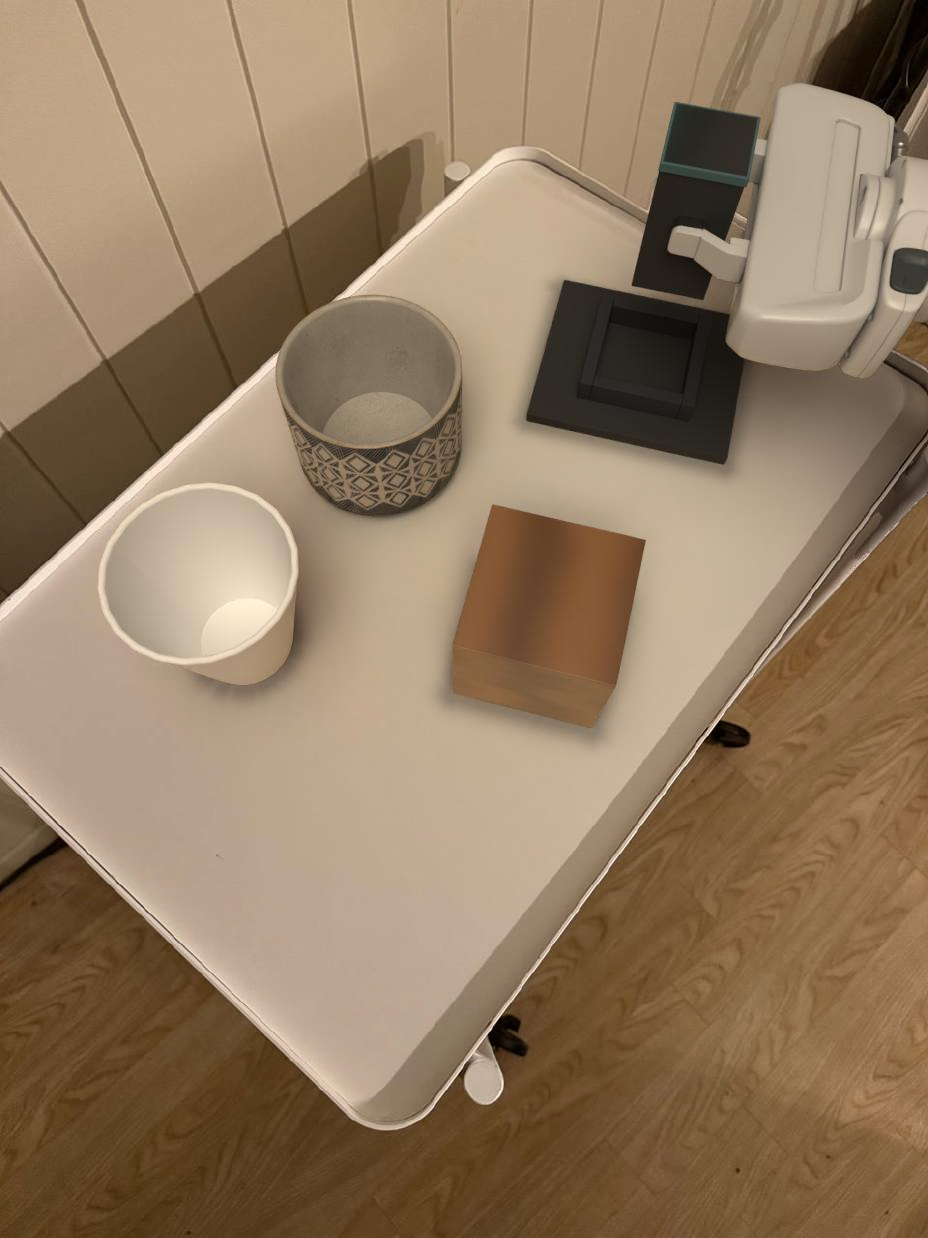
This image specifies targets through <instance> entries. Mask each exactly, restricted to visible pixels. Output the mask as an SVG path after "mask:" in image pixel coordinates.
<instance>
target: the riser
mask: <svg viewBox="0 0 928 1238" xmlns="http://www.w3.org/2000/svg"><path fill="white" fill-rule="evenodd" d="M646 542H647V540H646V539H645V538H639V537H635V536H630V535H627V534H624V533H623V534H622V533H618V532H614V531H610V530H605V529H601V528H598V527H597V528H596V527H592V526H588V525H584V524H579V523H575V522H571V521H566V520H562V519H558V518H554V517H550V516H545V515H541V514H536V513H532V512H529V511H524V510H519V509H515V508H511V507H508V506H507V507H506V506H502V505H498V504H493V503H492V504H491V507H490V510H489V515H488V517H487V521H486V525H485V529H484V532H483V536H482V539H481V543H480V546H479V549H478V554H477V558H476V560H475V564H474V568H473V571H472V575H471V578H470V582H469V584H468V590H467V592H466V596H465V600H464V603H463V606H462V610H461V614H460V617H459V621H458V624H457V628H456V632H455V635H454V639H453V641H452V642H453V643H452V688H453V689H452V693H453V694H454V695H458V696H463V697H467V698H470V699H474V700H479V701H482V702H485V703H490V704H494V705H498V706H502V707H506V708H510V709H513V710H518V711H522V712H525V713H529V714H534V715H538V716H541V717H545V718H548V719H549V718H550V719H554V720H558V721H561V722H566V723H569V724H573V725H577V726H581V727H585V728H588V729H592V728H593V727H594V725H595V724H596V721H597V720H598V719H599V717H600V715H601V713H602V711H603V709H604V707H605V706H606V705H607V703H608V701H609V700H610V698H611V696H612V694H613V691H614V690H615V689H616V687H617V684H618V679H619V673H620V670H621V665H622V664H621V663H622V659H623V654H624V648H625V644H626V640H627V633H628V629H629V625H630V620H631V616H632V615H631V614H632V611H633V605H634V600H635V595H636V590H637V586H638V581H639V576H640V570H641V565H642V562H643V556H644V552H645V547H646Z"/></svg>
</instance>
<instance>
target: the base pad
mask: <svg viewBox="0 0 928 1238" xmlns="http://www.w3.org/2000/svg"><path fill="white" fill-rule="evenodd" d="M729 316H730V313H726V312H722V311H717V310H712V309H707V308H702V307H699V306H694V305H693V306H692V305H688V304H682V303H678V302H673V301H669V300H664V299H659V298H654V297H651V296H650V297H649V296H644V295H641V294H635V293H630V292H625V291H620V290H616V289H611V288H606V287H603V286H602V287H601V286H598V285H597V286H596V285H592V284H588V283H582V282H577V281H573V280H568V279H564V280H563V283H562V286H561V290H560V292H559V297H558V300H557V304H556V307H555V311H554V315H553V318H552V322H551V325H550V329H549V333H548V336H547V340H546V344H545V347H544V351H543V354H542V357H541V358H542V359H541V361H540V364H539V369H538V373H537V376H536V379H535V383H534V387H533V391H532V394H531V398H530V401H529V405H528V408H527V413H526V417H525V420H526V421H527V422H531V423H535V424H540V425H544V426H549V427H552V428H558V429H562V430H568V431H571V432H576V433H581V434H585V435H587V436H588V435H589V436H594V437H598V438H602V439H605V440H611V441H615V442H621V443H625V444H630V445H634V446H638V447H642V448H647V449H652V450H656V451H659V452H660V451H661V452H665V453H669V454H674V455H678V456H682V457H688V458H690V459H691V458H692V459H696V460H701V461H705V462H710V463H714V464H719V465H724V464H725V463H726V462H727V460H728V457H729V451H730V446H731V439H732V435H733V434H732V433H733V428H734V422H735V416H736V410H737V405H738V400H739V393H740V387H741V381H742V376H743V370H744V364H745V360H746V359H745V358H742V357H740V356H739V355H738V354H737V353H736V352H735V351H733V350H732V349H731V348H730V347H729V346H728V345H727V343H726V340H725V339H726V333H727V327H728V322H729Z"/></svg>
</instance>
